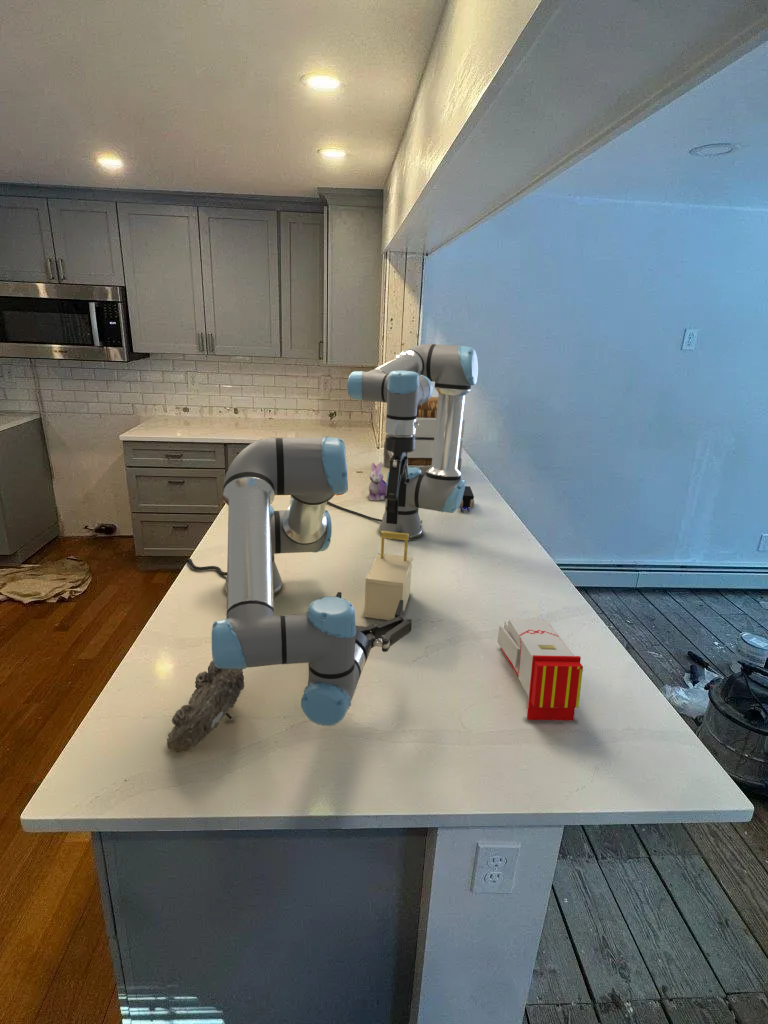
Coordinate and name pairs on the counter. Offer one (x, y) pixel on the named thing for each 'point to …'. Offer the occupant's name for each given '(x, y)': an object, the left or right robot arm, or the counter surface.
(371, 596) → the chest
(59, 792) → the counter surface
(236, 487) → the left robot arm
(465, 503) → the figurine character
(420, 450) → the transformer
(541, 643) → the toy
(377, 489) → the figurine
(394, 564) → the lid
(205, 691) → the fossil
